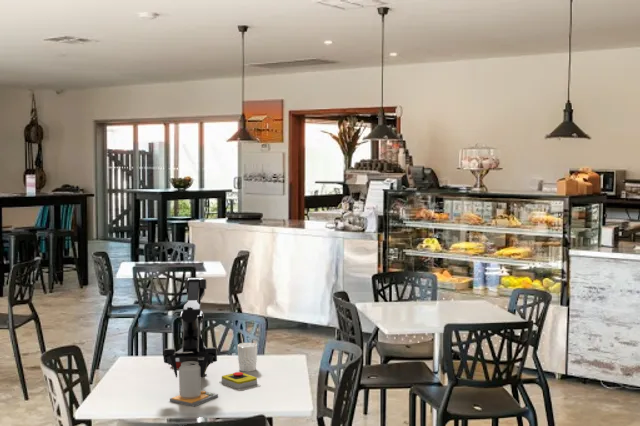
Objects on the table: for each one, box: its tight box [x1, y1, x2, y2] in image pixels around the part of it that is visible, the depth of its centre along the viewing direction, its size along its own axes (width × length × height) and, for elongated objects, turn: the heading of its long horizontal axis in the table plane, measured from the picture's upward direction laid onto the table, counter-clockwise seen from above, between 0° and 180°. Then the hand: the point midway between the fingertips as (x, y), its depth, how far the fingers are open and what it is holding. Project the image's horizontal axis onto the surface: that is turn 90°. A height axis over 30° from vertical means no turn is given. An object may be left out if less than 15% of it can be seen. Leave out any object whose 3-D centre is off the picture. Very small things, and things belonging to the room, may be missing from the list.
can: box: [178, 361, 202, 399], centre depth 289 cm, size 8×8×12 cm
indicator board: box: [169, 390, 219, 407], centre depth 291 cm, size 11×13×2 cm
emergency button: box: [219, 371, 261, 391], centre depth 310 cm, size 9×4×15 cm
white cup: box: [237, 342, 258, 372], centre depth 331 cm, size 8×8×10 cm
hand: (189, 376), depth 287 cm, fingers open, 9 cm apart
